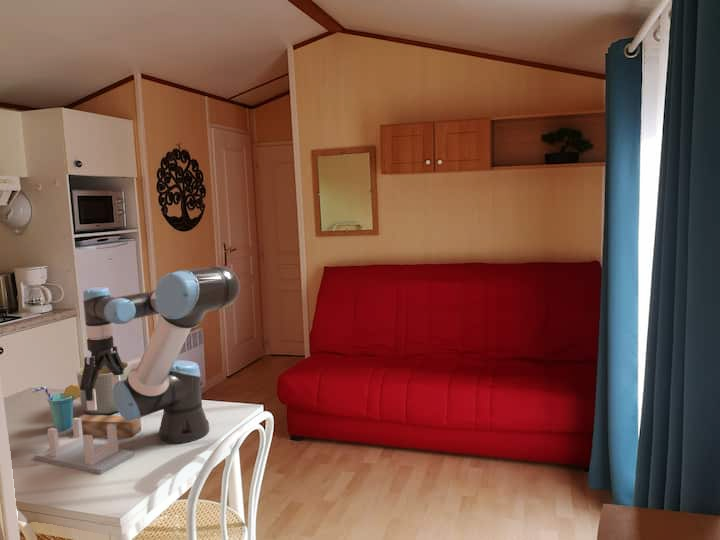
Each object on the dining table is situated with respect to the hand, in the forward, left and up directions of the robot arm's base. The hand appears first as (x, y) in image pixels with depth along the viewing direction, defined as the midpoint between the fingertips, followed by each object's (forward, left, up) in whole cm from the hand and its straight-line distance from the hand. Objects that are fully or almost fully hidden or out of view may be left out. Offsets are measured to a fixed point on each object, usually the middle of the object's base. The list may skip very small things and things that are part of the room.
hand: (105, 401), depth 185 cm
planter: (+17, -15, -10) cm, 25 cm away
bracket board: (-8, +16, -10) cm, 21 cm away
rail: (0, 0, -10) cm, 10 cm away
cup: (+18, +3, -10) cm, 21 cm away
